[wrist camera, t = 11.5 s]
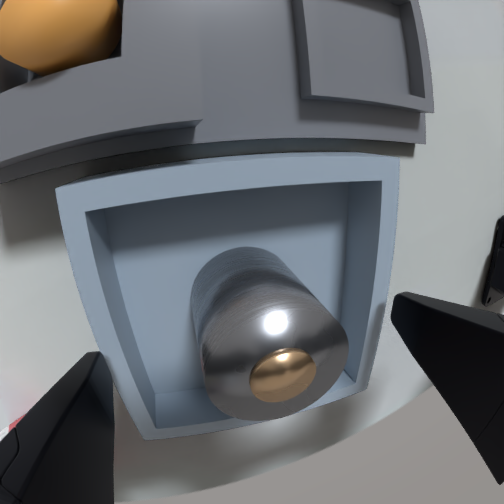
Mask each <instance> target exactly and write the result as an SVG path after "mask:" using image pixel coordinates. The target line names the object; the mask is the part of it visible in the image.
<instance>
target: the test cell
mask: <svg viewBox="0 0 504 504" xmlns="http://www.w3.org/2000/svg"><path fill="white" fill-rule="evenodd" d="M191 307H192V313H193V320H194V326H195V332H196V338H197V344H198V350H199V355H200V361H201V366H202V372H203V377H204V382H205V387H206V391H207V394H208V397H209V398H210V400H211V402H212V403H213V404H214V405H215V406H216V407H217V408H218V409H219V410H220V411H222V412H223V413H225V414H227V415H229V416H232V417H234V418H238V419H241V420H248V421H266V420H273V419H278V418H282V417H285V416H289V415H291V414H294V413H296V412H298V411H300V410H302V409H304V408H306V407H308V406H310V405H311V404H313V403H314V402H316V401H317V400H318V399H320V398H321V397H322V396H323V395H324V394H325V393H326V392H327V391H328V390H329V389H330V388H331V387H332V386H333V385H334V384H335V382H336V381H337V380H338V378H339V377H340V375H341V373H342V371H343V370H344V367H345V365H346V362H347V358H348V352H349V342H348V338H347V334H346V332H345V330H344V328H343V327H342V326H341V324H340V323H339V322H338V321H337V320H336V319H335V318H334V317H333V315H332V314H331V313H330V312H329V311H328V310H327V309H326V308H325V307H324V306H323V305H322V303H321V302H320V301H319V300H318V299H317V298H316V297H315V296H314V295H313V294H312V293H311V291H310V290H309V289H308V288H307V287H306V286H305V285H304V284H303V283H302V282H301V281H300V280H299V278H298V277H297V276H296V275H295V274H294V273H293V272H292V271H291V270H290V269H289V268H288V267H287V266H286V264H285V263H284V262H283V261H282V260H281V259H280V258H279V257H278V256H276V255H275V254H273V253H271V252H269V251H267V250H265V249H262V248H257V247H247V246H246V247H237V248H232V249H229V250H226V251H224V252H222V253H220V254H218V255H216V256H215V257H213V258H212V259H211V260H209V261H208V262H207V263H206V264H205V265H204V266H203V267H202V268H201V270H200V271H199V273H198V274H197V276H196V278H195V280H194V283H193V285H192V290H191Z"/></svg>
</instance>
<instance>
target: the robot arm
mask: <svg viewBox="0 0 504 504" xmlns="http://www.w3.org/2000/svg"><path fill="white" fill-rule="evenodd" d="M503 297H504V215H503V216H502V217H501V219H500V222H499V227H498V233H497V239H496V244H495V249H494V254H493V259H492V264H491V268H490V272H489V276H488V280H487V284H486V288H485V291H484V295H483V298H482V304H483V305H484V306H486V307H487V306H489V305H491V304H492V303H494V302H496V301H497V300H499V299H501V298H503ZM391 321H392V323H393V325H394V327H395V328H396V330H397V331H398V333H399V335H400V336H401V338H402V339H403V341H404V343H405V344H406V346H407V348H408V349H409V351H410V353H411V354H412V356H413V357H414V358H415V360H416V361H417V363H418V364H419V365H420V367H421V368H422V369H423V371H424V372H425V373H426V375H427V376H428V378H429V379H430V380H431V382H432V383H433V384H434V386H435V387H436V389H437V390H438V391H439V393H440V394H441V396H442V397H443V399H444V400H445V401H446V403H447V404H448V406H449V407H450V409H451V410H452V412H453V413H454V415H455V416H456V417H457V419H458V420H459V422H460V423H461V425H462V426H463V428H464V429H465V431H466V433H467V434H468V436H469V437H470V439H471V440H472V442H473V443H474V445H475V447H476V448H477V450H478V452H479V453H480V455H481V456H482V458H483V460H484V461H485V463H486V465H487V466H488V468H489V470H490V471H491V473H492V475H493V476H494V478H495V480H496V481H497V483H498V484H499V485H501V484H502V483H503V482H504V315H502V314H496V313H493V312H489V311H485V310H481V309H476V308H472V307H468V306H464V305H460V304H456V303H452V302H447V301H443V300H439V299H435V298H431V297H427V296H423V295H418V294H414V293H410V292H402V293H399V294H397V295H395V297H394V301H393V306H392V311H391ZM113 461H114V406H113V379H112V375H111V372H110V370H109V367H108V365H107V363H106V360H105V358H104V356H103V354H102V353H101V352H100V351H96V352H88V353H86V354H85V355H84V356H83V357H82V358H81V359H80V360H79V361H78V362H77V363H76V364H75V365H74V366H73V367H72V368H71V369H70V370H69V371H68V372H67V373H66V374H65V375H64V376H63V377H62V378H61V379H60V380H59V381H58V382H57V383H56V384H55V385H54V386H53V387H52V388H51V389H50V390H49V391H48V392H47V393H46V394H45V395H44V396H43V397H42V398H41V399H40V400H39V401H38V402H37V403H36V404H35V405H34V406H33V407H32V408H31V409H30V410H29V411H28V412H27V413H26V415H25V416H24V417H23V418H22V419H21V420H20V421H19V422H18V423H17V424H16V425H15V427H13V428H12V429H11V430H10V431H9V433H8V434H7V435H6V436H5V437H4V438H3V439H2V440H1V441H0V504H114V483H113Z"/></svg>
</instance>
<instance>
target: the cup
mask: <svg viewBox="0 0 504 504" xmlns="http://www.w3.org/2000/svg"><path fill="white" fill-rule="evenodd" d="M399 167H400V157H392V156H385V155H377V154H369V153H360V152H293V153H270V154H252V155H238V156H226V157H215V158H205V159H195V160H187V161H179V162H171V163H163V164H156V165H149V166H143V167H136V168H130V169H124V170H119V171H113V172H108V173H102V174H97V175H92V176H87V177H83V178H80V179H78V180H75V181H72V182H70V183H67V184H65V185H62V186H60V187H58V188H55V192H56V198H57V204H58V209H59V215H60V220H61V225H62V229H63V234H64V238H65V243H66V247H67V251H68V255H69V259H70V263H71V267H72V270H73V274H74V277H75V281H76V284H77V287H78V291H79V294H80V297H81V300H82V303H83V306H84V309H85V312H86V315H87V318H88V321H89V324H90V326H91V329H92V332H93V334H94V337H95V340H96V342H97V345H98V347H99V350H100V352H101V353H102V354H103V356H104V358H105V360H106V363H107V365H108V367H109V370H110V372H111V375H112V379H113V382H114V384H115V386H116V388H117V390H118V392H119V394H120V396H121V398H122V400H123V402H124V404H125V406H126V408H127V410H128V412H129V414H130V416H131V418H132V420H133V422H134V423H135V425H136V427H137V429H138V431H139V432H140V434H141V436H142V438H143V439H144V440H156V439H167V438H176V437H184V436H191V435H198V434H205V433H211V432H217V431H223V430H228V429H233V428H238V427H243V426H248V425H252V424H257V423H261V422H265V421H248V420H241V419H238V418H234V417H232V416H229V415H227V414H225V413H223V412H222V411H220V410H219V409H218V408H217V407H216V406H215V405H214V404H213V403H212V402H211V400H210V398H209V397H208V394H207V391H206V387H205V382H204V377H203V372H202V366H201V361H200V355H199V350H198V344H197V338H196V332H195V326H194V320H193V313H192V307H191V290H192V285H193V283H194V280H195V278H196V276H197V274H198V273H199V271H200V270H201V268H202V267H203V266H204V265H205V264H206V263H207V262H208V261H209V260H211V259H212V258H213V257H215V256H216V255H218V254H220V253H222V252H224V251H226V250H229V249H232V248H237V247H246V246H247V247H257V248H262V249H265V250H267V251H269V252H271V253H273V254H275V255H276V256H278V257H279V258H280V259H281V260H282V261H283V262H284V263H285V264H286V266H287V267H288V268H289V269H290V270H291V271H292V272H293V273H294V274H295V275H296V276H297V277H298V278H299V280H300V281H301V282H302V283H303V284H304V285H305V286H306V287H307V288H308V289H309V290H310V291H311V293H312V294H313V295H314V296H315V297H316V298H317V299H318V300H319V301H320V302H321V303H322V305H323V306H324V307H325V308H326V309H327V310H328V311H329V312H330V313H331V314H332V315H333V317H334V318H335V319H336V320H337V321H338V322H339V323H340V324H341V326H342V327H343V328H344V330H345V332H346V334H347V338H348V342H349V352H348V358H347V362H346V365H345V367H344V370H343V371H342V373H341V375H340V377H339V378H338V380H337V381H336V382H335V384H334V385H333V386H332V387H331V388H330V389H329V390H328V391H327V392H326V393H325V394H324V395H323V396H322V397H321V398H320V399H318V400H317V401H316V402H314V403H313V404H311V405H310V406H308V407H306V408H304V409H302V410H300V411H298V412H296V413H299V412H302V411H306V410H309V409H312V408H315V407H318V406H321V405H324V404H328V403H330V402H333V401H336V400H339V399H342V398H345V397H347V396H350V395H353V394H356V393H358V392H361V391H363V390H366V389H367V385H368V382H369V378H370V374H371V371H372V367H373V363H374V359H375V355H376V350H377V346H378V342H379V337H380V332H381V328H382V323H383V318H384V312H385V307H386V301H387V295H388V289H389V283H390V276H391V269H392V261H393V253H394V245H395V235H396V224H397V211H398V195H399ZM294 414H295V413H294ZM291 415H292V414H291ZM266 421H269V420H266Z"/></svg>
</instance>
